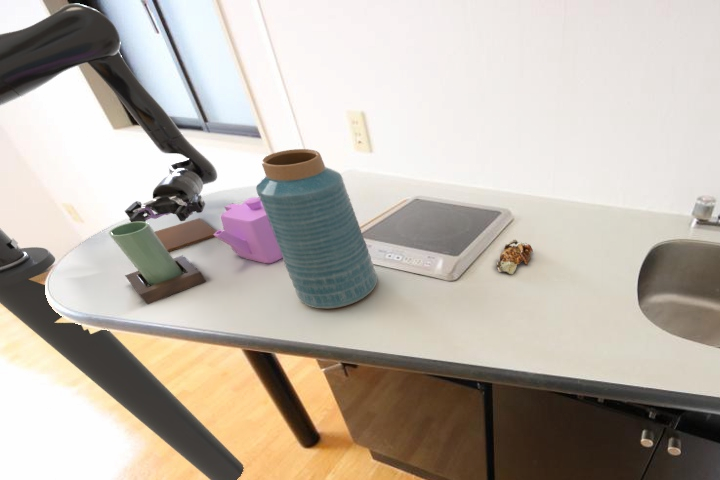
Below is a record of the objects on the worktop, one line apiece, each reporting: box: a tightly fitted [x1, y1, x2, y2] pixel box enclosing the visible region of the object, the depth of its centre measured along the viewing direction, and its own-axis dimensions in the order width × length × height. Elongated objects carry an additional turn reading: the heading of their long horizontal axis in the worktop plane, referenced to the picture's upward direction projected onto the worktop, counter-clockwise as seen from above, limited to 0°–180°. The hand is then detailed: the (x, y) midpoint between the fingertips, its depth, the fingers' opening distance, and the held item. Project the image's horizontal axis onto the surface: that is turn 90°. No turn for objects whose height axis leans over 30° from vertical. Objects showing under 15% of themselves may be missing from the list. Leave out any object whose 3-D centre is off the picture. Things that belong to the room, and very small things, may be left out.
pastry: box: [496, 238, 534, 275], centre depth 85 cm, size 7×12×4 cm, turn 162°
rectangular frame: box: [124, 255, 207, 305], centre depth 79 cm, size 11×11×2 cm
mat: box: [154, 217, 218, 253], centre depth 96 cm, size 14×14×1 cm
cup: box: [108, 221, 185, 287], centre depth 75 cm, size 6×6×13 cm
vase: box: [255, 148, 378, 309], centre depth 69 cm, size 16×16×27 cm
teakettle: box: [213, 196, 283, 265], centre depth 87 cm, size 17×17×12 cm
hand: (157, 220), depth 81 cm, fingers open, 8 cm apart
